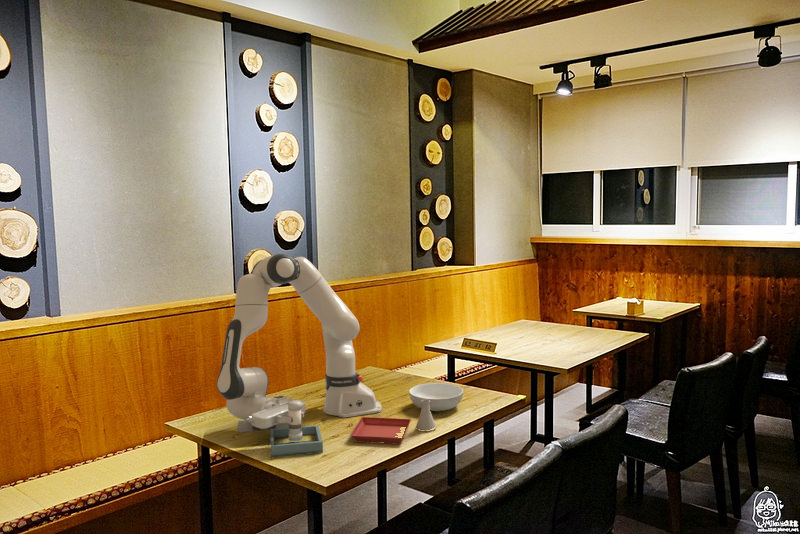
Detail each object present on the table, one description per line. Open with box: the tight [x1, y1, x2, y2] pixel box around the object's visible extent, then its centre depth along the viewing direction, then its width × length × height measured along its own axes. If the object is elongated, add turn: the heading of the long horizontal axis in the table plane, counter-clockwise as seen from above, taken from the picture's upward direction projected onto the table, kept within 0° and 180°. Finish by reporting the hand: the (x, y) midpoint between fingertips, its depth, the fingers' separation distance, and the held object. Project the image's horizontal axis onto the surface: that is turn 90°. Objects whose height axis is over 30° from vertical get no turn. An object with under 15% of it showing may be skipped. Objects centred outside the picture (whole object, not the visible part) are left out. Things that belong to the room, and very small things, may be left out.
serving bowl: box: [408, 382, 464, 412], centre depth 239 cm, size 21×21×7 cm
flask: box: [415, 400, 436, 430], centre depth 215 cm, size 7×7×10 cm
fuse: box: [288, 399, 303, 442], centre depth 200 cm, size 4×4×12 cm
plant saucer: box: [349, 416, 412, 444], centre depth 210 cm, size 18×18×3 cm
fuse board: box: [237, 420, 289, 433], centre depth 219 cm, size 18×12×4 cm, turn 102°
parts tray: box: [269, 424, 324, 459], centre depth 201 cm, size 16×16×4 cm
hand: (297, 417), depth 200 cm, fingers closed on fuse, 4 cm apart
